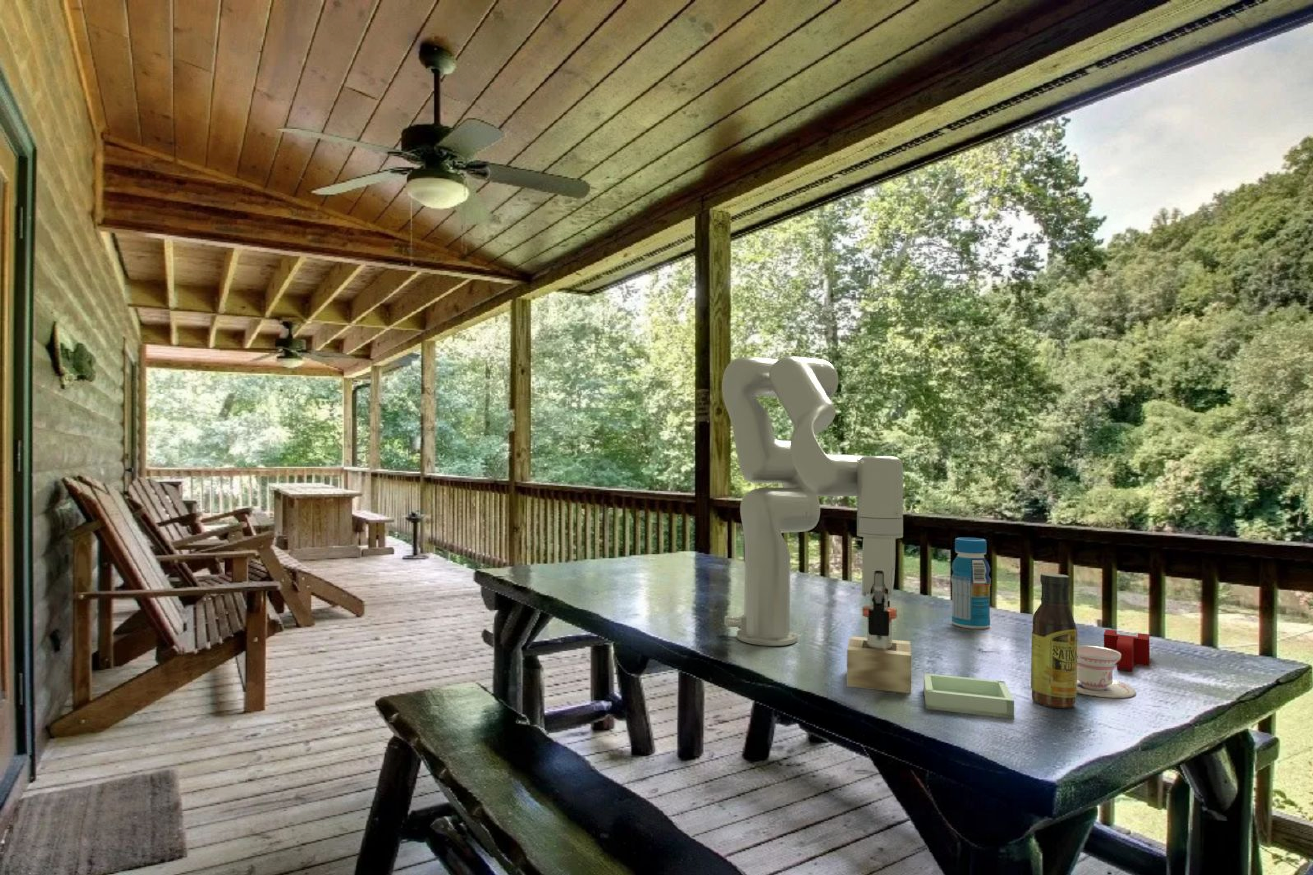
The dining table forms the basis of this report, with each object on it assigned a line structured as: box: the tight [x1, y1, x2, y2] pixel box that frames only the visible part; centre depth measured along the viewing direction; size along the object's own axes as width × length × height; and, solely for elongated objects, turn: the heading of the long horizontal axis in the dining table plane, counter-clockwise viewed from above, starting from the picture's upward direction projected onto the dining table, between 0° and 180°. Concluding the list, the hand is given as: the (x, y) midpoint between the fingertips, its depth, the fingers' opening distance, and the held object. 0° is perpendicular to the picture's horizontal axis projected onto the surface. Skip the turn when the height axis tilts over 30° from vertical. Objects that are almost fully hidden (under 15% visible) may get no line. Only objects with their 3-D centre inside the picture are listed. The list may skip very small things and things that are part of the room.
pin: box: [862, 605, 898, 650], centre depth 122 cm, size 6×6×12 cm
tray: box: [923, 673, 1015, 720], centre depth 111 cm, size 12×10×3 cm
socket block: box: [846, 636, 912, 694], centre depth 121 cm, size 10×10×6 cm
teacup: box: [1077, 644, 1137, 699], centre depth 120 cm, size 12×12×6 cm
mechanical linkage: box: [1103, 628, 1151, 672], centre depth 136 cm, size 16×7×5 cm, turn 145°
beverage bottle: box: [950, 537, 992, 630], centre depth 166 cm, size 8×8×20 cm
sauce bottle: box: [1030, 572, 1078, 709], centre depth 112 cm, size 7×6×20 cm
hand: (879, 628), depth 122 cm, fingers open, 9 cm apart
